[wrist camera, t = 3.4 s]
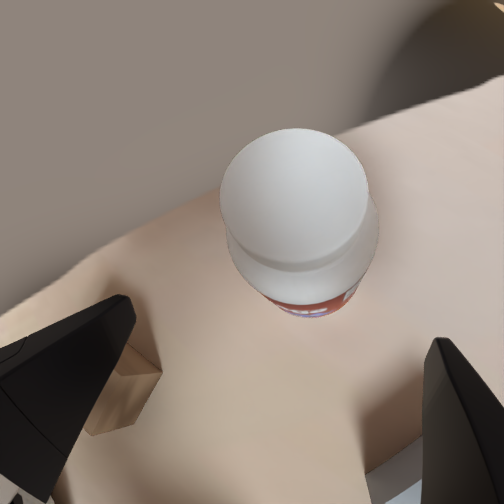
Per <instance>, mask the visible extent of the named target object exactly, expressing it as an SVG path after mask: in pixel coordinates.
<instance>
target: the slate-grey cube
mask: <svg viewBox="0 0 504 504" xmlns="http://www.w3.org/2000/svg"><path fill="white" fill-rule="evenodd" d="M422 455H423V443H422V435H421V436H420V437H419V438H418V439H416V440H415V441H414V442H412V443H411V444H410V445H408V446H407V447H406V448H404V449H403V450H402V451H400V452H399V453H397V454H396V455H395V456H393V457H392V458H390V459H389V460H387V461H386V462H384V463H383V464H381V465H380V466H378V467H377V468H375V469H374V470H372V471H371V472H369V473H367V474H366V475H365V478H366V482H367V486H368V490H369V494H370V498H371V503H372V504H420V503H421V487H422Z"/></svg>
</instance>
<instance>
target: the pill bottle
mask: <svg viewBox="0 0 504 504" xmlns="http://www.w3.org/2000/svg"><path fill="white" fill-rule="evenodd" d="M219 200H220V209H221V214H222V218H223V220H224V223H225V225H226V237H227V244H228V249H229V252H230V255H231V257H232V260H233V262H234V264H235V266H236V268H237V269H238V271H239V272H240V274H241V275H242V276H243V277H244V279H245V280H246V281H247V282H248V283H249V284H250V285H251V286H252V287H253V288H255V289H256V290H257V291H258V292H260V293H261V294H262V295H263V296H265V297H266V298H267V299H268V300H269V301H271V302H273V303H274V304H275V305H277V306H278V307H279V308H281V309H282V310H284V311H285V312H287V313H289V314H292V315H295V316H298V317H304V318H317V317H322V316H326V315H329V314H331V313H333V312H335V311H337V310H339V309H340V308H341V307H343V306H344V305H345V304H346V303H347V302H348V301H349V300H350V298H351V297H352V296H353V294H354V293H355V291H356V289H357V287H358V285H359V284H360V282H361V280H362V278H363V276H364V274H365V273H366V271H367V269H368V267H369V265H370V263H371V261H372V258H373V256H374V253H375V250H376V247H377V242H378V236H379V221H378V214H377V210H376V207H375V204H374V201H373V199H372V197H371V195H370V193H369V191H368V182H367V178H366V175H365V172H364V169H363V167H362V165H361V163H360V161H359V160H358V158H357V157H356V156H355V154H354V153H353V152H352V151H351V150H350V149H349V148H348V147H347V146H346V145H345V144H343V143H342V142H341V141H339V140H338V139H336V138H334V137H332V136H330V135H328V134H325V133H323V132H319V131H316V130H311V129H302V128H292V129H283V130H277V131H274V132H270V133H267V134H265V135H263V136H261V137H259V138H257V139H255V140H253V141H252V142H250V143H249V144H247V145H246V146H245V147H244V148H243V149H242V150H241V151H240V152H239V153H238V154H237V155H236V156H235V157H234V158H233V159H232V161H231V163H230V164H229V166H228V168H227V169H226V172H225V174H224V176H223V179H222V182H221V187H220V198H219Z"/></svg>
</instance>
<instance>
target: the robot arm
mask: <svg viewBox="0 0 504 504" xmlns="http://www.w3.org/2000/svg"><path fill="white" fill-rule="evenodd" d="M135 323H136V314H135V311H134V308H133V305H132V302H131V299H130V298H129V297H128V296H125V295H121V294H117V295H114V296H112V297H110V298H108V299H106V300H103V301H101V302H99V303H97V304H95V305H93V306H90V307H88V308H86V309H84V310H82V311H80V312H77V313H75V314H73V315H71V316H69V317H67V318H65V319H62V320H60V321H58V322H56V323H54V324H52V325H50V326H48V327H45V328H43V329H41V330H39V331H37V332H35V333H33V334H31V335H29V336H28V337H27V336H26V337H24V338H22V339H20V340H18V341H16V342H13V343H11V344H9V345H7V346H5V347H2V348H0V504H23V499H22V496H21V495H20V494H19V493H18V491H19V489H20V488H21V489H22V490H24V491H25V492H27V493H29V494H30V495H32V496H33V497H35V498H36V499H38V500H40V501H41V502H43V503H45V504H46V503H47V502H48V500H49V498H50V495H51V493H52V491H53V489H54V487H55V484H56V482H57V480H58V478H59V476H60V474H61V471H62V469H63V467H64V465H65V463H66V461H67V458H68V456H69V454H70V452H71V450H72V448H73V446H74V444H75V442H76V440H77V438H78V436H79V434H80V432H81V430H82V428H83V426H84V424H85V422H86V420H87V419H88V417H89V415H90V413H91V411H92V409H93V407H94V405H95V403H96V401H97V400H98V398H99V396H100V394H101V392H102V390H103V388H104V387H105V385H106V383H107V381H108V379H109V377H110V376H111V374H112V372H113V370H114V368H115V367H116V365H117V363H118V361H119V359H120V357H121V354H122V352H123V350H124V348H125V345H126V343H127V341H128V339H129V336H130V334H131V332H132V330H133V327H134V325H135ZM422 443H423V455H422V487H421V503H420V504H504V407H503V406H502V405H501V403H500V402H499V400H498V399H497V398H496V396H495V395H494V394H493V392H492V391H491V390H490V388H489V387H488V386H487V384H486V383H485V382H484V381H483V379H482V378H481V377H480V375H479V374H478V373H477V372H476V370H475V369H474V368H473V367H472V365H471V364H470V363H469V362H468V360H467V359H466V358H465V357H464V355H463V354H462V353H461V352H460V351H459V349H458V348H457V347H456V346H455V345H454V343H453V342H452V341H451V340H450V339H449V338H444V337H436V338H435V339H434V340H433V342H432V344H431V346H430V349H429V351H428V353H427V356H426V358H425V362H424V383H423V404H422Z"/></svg>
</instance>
